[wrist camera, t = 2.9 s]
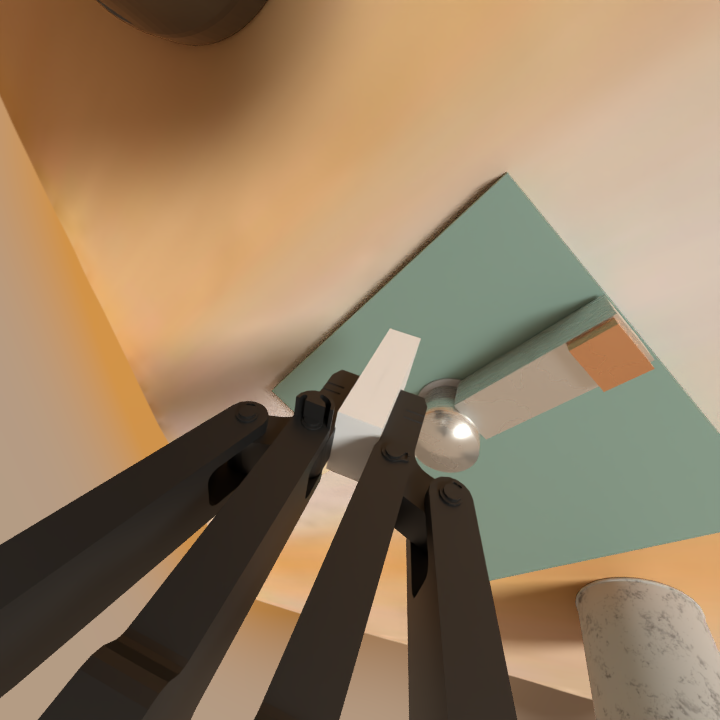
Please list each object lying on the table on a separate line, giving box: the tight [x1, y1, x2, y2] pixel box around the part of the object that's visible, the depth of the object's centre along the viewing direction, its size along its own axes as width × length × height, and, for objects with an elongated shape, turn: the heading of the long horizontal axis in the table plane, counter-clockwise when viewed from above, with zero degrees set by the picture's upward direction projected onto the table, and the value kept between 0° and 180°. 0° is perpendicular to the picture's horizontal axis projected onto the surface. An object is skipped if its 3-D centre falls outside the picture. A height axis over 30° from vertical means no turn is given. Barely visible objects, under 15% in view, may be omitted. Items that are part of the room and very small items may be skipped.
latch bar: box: [415, 294, 655, 473], centre depth 22 cm, size 14×4×4 cm, turn 136°
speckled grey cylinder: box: [575, 577, 720, 720], centre depth 28 cm, size 10×10×12 cm
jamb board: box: [272, 172, 720, 581], centre depth 27 cm, size 28×24×4 cm
